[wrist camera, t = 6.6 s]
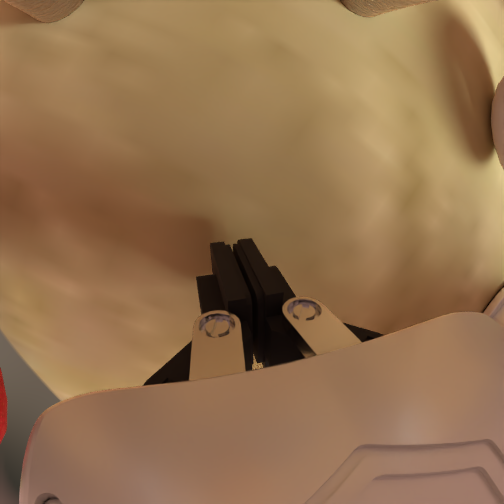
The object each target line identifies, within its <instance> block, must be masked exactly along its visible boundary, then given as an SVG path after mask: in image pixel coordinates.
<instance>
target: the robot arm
mask: <svg viewBox="0 0 504 504" xmlns="http://www.w3.org/2000/svg"><path fill="white" fill-rule="evenodd" d="M210 249H211V260H212V271H213V275H205V276H198V277H196V280H197V288H198V295H199V302H200V308H201V314H202V315H201V316H199V317H198V318H197V319H196V321H195V323H194V326H193V337H192V341H191V342H190V343H189V344H187V345H186V346H185V347H184V348H183V349H182V350H181V351H180V352H179V353H177V354H176V355H175V356H174V357H173V358H172V359H171V360H170V361H168V362H167V363H166V364H165V365H164V366H163V367H162V368H161V369H159V370H158V371H157V372H156V373H155V374H154V375H153V376H151V377H150V378H149V379H148V380H147V381H146V382H145V383H144V385H143V386H137V387H128V388H118V389H108V390H102V391H95V392H90V393H86V394H82V395H77V396H74V397H71V398H69V399H66V400H63V401H61V402H59V403H56V404H55V405H53V406H51V407H49V408H48V409H46V410H45V411H44V412H43V413H42V414H41V415H40V417H39V418H38V419H37V421H36V423H35V424H34V427H33V429H32V431H31V434H30V437H29V440H28V443H27V447H26V451H25V456H24V462H23V467H22V475H21V483H20V497H19V499H20V500H19V504H504V287H503V288H502V289H501V290H500V292H499V293H498V294H497V295H496V296H495V298H494V299H493V300H492V301H491V303H490V304H489V305H488V307H487V308H486V310H485V311H484V312H483V313H479V312H456V313H450V314H446V315H442V316H439V317H436V318H433V319H430V320H427V321H424V322H421V323H419V324H416V325H413V326H410V327H408V328H405V329H402V330H399V331H396V332H393V333H390V334H387V335H382V334H380V333H377V332H373V331H370V330H366V329H363V328H359V327H356V326H353V325H349V324H346V323H342V322H341V321H340V320H339V319H338V318H337V317H336V316H335V315H334V314H333V313H332V312H331V311H330V310H329V309H328V308H327V307H326V306H325V305H324V304H323V303H321V302H320V301H319V300H316V299H314V298H310V297H296V296H295V294H294V293H293V291H292V290H291V288H290V287H289V285H288V283H287V282H286V280H285V279H284V277H283V276H282V274H281V272H280V271H279V269H278V268H277V267H276V266H271V267H268V265H267V263H266V262H265V260H264V258H263V257H262V255H261V253H260V252H259V250H258V248H257V247H256V245H255V243H254V242H253V240H252V239H251V238H250V239H241V240H238V241H237V244H233V252H232V249H231V247H230V245H225V243H224V242H217V243H210ZM253 353H254V356H255V359H256V362H257V363H261V362H262V364H263V367H264V368H260V369H255V370H252V364H253Z"/></svg>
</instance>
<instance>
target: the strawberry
mask: <svg viewBox="0 0 504 504" xmlns="http://www.w3.org/2000/svg"><path fill="white" fill-rule="evenodd" d="M6 430H7V397H6V392H5V387H4V382H3V377H2V372H1V368H0V443H1V441H2V439H3V437H4V435H5V433H6Z"/></svg>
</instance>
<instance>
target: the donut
mask: <svg viewBox="0 0 504 504" xmlns="http://www.w3.org/2000/svg"><path fill="white" fill-rule="evenodd" d="M491 128H492V135H493V143H494V146H495V149H496V152H497V155H498V158H499V161H500V164H501V166H502V167H503V169H504V77H503V78H502V80H501V81H500V82H499V83H498V86H497V89H496V92H495V95H494V98H493V101H492V111H491Z"/></svg>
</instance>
